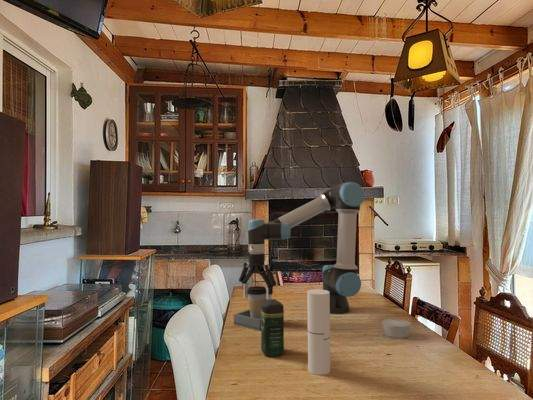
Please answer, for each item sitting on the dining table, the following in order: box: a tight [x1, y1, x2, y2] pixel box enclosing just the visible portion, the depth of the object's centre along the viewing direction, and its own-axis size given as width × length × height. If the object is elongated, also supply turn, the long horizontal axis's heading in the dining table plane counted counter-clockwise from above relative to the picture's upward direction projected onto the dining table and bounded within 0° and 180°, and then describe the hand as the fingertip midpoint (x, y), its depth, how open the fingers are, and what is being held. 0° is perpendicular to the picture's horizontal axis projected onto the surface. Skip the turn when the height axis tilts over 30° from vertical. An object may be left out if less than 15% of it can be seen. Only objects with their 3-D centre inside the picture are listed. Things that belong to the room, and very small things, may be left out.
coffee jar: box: [260, 298, 285, 357], centre depth 133 cm, size 10×8×19 cm
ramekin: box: [381, 317, 412, 339], centre depth 150 cm, size 11×11×5 cm
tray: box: [233, 308, 261, 332], centre depth 167 cm, size 15×15×4 cm
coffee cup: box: [247, 285, 267, 319], centre depth 167 cm, size 9×9×15 cm
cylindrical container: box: [306, 289, 331, 376], centre depth 118 cm, size 7×7×25 cm
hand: (257, 299), depth 167 cm, fingers open, 13 cm apart
